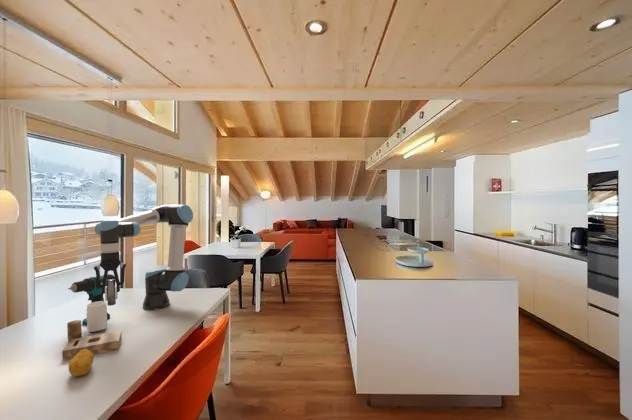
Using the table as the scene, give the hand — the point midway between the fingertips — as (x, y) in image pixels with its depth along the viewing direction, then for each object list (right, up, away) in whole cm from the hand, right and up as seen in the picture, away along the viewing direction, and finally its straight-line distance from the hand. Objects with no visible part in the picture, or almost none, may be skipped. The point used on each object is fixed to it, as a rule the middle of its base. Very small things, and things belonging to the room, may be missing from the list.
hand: (111, 299), depth 150 cm
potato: (+9, -20, -31) cm, 38 cm away
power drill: (-23, -18, +19) cm, 35 cm away
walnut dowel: (-13, -19, -6) cm, 24 cm away
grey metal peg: (0, -3, 0) cm, 3 cm away
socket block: (0, -19, -12) cm, 22 cm away
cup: (-12, -19, +8) cm, 24 cm away
